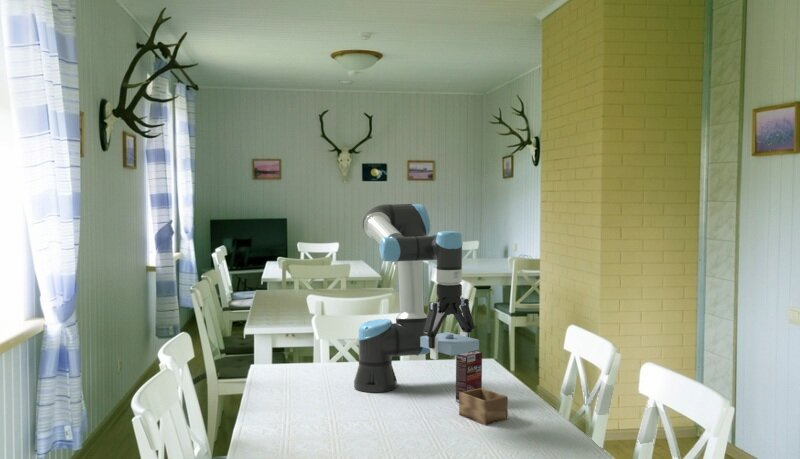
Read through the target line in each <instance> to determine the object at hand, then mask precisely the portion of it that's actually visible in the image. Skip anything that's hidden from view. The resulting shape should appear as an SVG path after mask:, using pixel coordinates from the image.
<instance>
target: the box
mask: <svg viewBox="0 0 800 459" xmlns="http://www.w3.org/2000/svg"><path fill="white" fill-rule="evenodd" d="M508 398H509V397H508V396H507V395H504V394H500V393H499V392H498V393H497V392H495V391H493V390H492V391H491V390H488V389H485V388H484V387H482V388H479V389H474V390H469V391H465V392H460V393H459V402H458V406H459V407H458V409H459V410H458V416H461V417H463V418H466V419H468V420H470V421H473V422H476V423H479V424H481V425H484V426H489V425H492V424H495V423H500V422H504V421H508V419H509V416H508V415H509V414H508V409H509V406H508V404H509V403H508V402H509V400H508Z"/></svg>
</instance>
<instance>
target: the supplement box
mask: <svg viewBox="0 0 800 459" xmlns="http://www.w3.org/2000/svg"><path fill="white" fill-rule="evenodd" d="M455 360H456V361H455V402H457V403H459V393H460V392H465V391H469V390H474V389H479V388H483V384H482V382H483V352H482V351H480V350H475V351H470V352H468V354H459V355H455Z"/></svg>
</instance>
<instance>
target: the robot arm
mask: <svg viewBox="0 0 800 459" xmlns="http://www.w3.org/2000/svg"><path fill="white" fill-rule="evenodd" d="M429 216H430V215H429V213H428V210H427V208H426V207H425V205H423V204H421V203H420V204H416V203H395V204H387V203H385V204H379V205H376V206H373V207H372V208H370V209H369V210H368V211H366V213H365V215H364V216H363V218H362V222H361V223H362V229H363V231H364V233H365V234H366V235H367V237H369V238H371V239H373V240H375V241H376V242H377V244H379V247H378V248H379V255H380V260H382V261H383V262H391V263H395V262H397V268H398V269H397V270H398V292H399V295H398V296H399V313H398V315H396V317H395V322H393V321H392V320H391V319H388V318H384V319H382V318H379V319H373V320H369V321H365V322H363V323H361V325H360V326H358V337H357V340H358V367H357V371H356V374H355V377H354V380H353V387H354V390H357V391H360V392H364V393H385V392H389V391H393V390H395V389H397V387H398V380H397V377H396V374H395V371H394V367H393V361H392V360H393V359H392V358H393V357H406V356H407V357H408V356H409V357H410V356H420V355H427V354H429V356H430V358H429V359H431V360H435V361H437V360H439V352H438V338H437V337H436V335H437V334H439V330H440V328H441V327H442V324H443V322H444V320H445V319H446V318H447V317H448V316H451V315H453V316H454V318H455V320H456V322H457V323H458V325H459V328H460V329H461V331H459V335H461V336H465V337H470V333H472V332H473V330H474V329H475V324H474V319H473V317H472V312H471V309H470V300H469V298H464V297H462V294H463V285H462V284H461V283H462V282H463V237H462V233H461V232H460V231H459V230H458V231H456V230H442V231H438V232H437V234H432V235H430V231H431V222H430V221H431V220H430V217H429ZM423 261H436V282H437V284H436V296H437V301H436V302H433V301H432V302H431V301H430V302H429V303H428V311H427V314H426V313H425V308H424V287H423V286H424V282H423V280H424V279H423ZM422 336H428V338H429V348H430V349H427V348H424V347H420V337H422ZM464 354H468V353H464Z"/></svg>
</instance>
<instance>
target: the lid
mask: <svg viewBox="0 0 800 459" xmlns="http://www.w3.org/2000/svg"><path fill="white" fill-rule="evenodd" d="M436 337H437V338H438V353H441V354H444V355H446V356H447V355H448V356H454V357H455V356H456V355H459V354H464V353H468V352H470V351H480V339H477V338H473V337H470V336H469V337H465V336H461V335H460V334H457V333H453V332H449V331H446V332H440V333H437V335H436ZM420 347H424V348H427V349H430V348H429V338H428V336H422V337H420Z"/></svg>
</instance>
